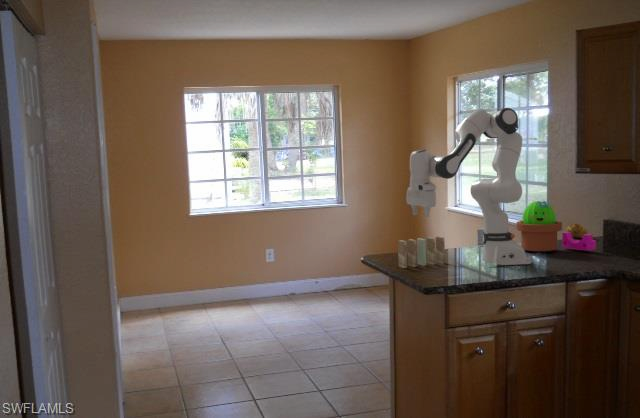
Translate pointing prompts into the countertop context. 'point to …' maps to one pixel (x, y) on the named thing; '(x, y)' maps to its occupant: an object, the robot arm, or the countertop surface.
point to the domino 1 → (412, 253)
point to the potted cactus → (539, 227)
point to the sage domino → (421, 251)
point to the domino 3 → (440, 250)
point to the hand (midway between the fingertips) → (421, 215)
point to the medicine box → (480, 236)
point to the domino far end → (402, 253)
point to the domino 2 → (430, 250)
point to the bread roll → (577, 230)
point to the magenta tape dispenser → (578, 242)
